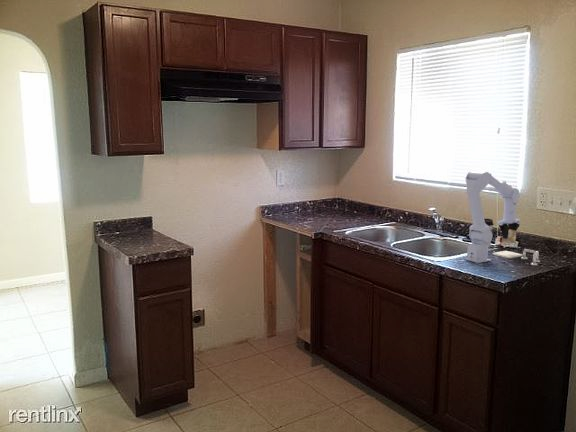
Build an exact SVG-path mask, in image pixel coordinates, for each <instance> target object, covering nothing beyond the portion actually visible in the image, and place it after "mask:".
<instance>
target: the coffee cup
mask: <svg viewBox="0 0 576 432" xmlns="http://www.w3.org/2000/svg"><path fill="white" fill-rule="evenodd" d="M484 221H485V223H486V224H487V225H488V226H489V227H490V231H491V232H492V233H493V228H494V227H493V226H494V221H493V218H484ZM491 241H492V240H491ZM491 241H490V243H488V248H490V247H491Z"/></svg>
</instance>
